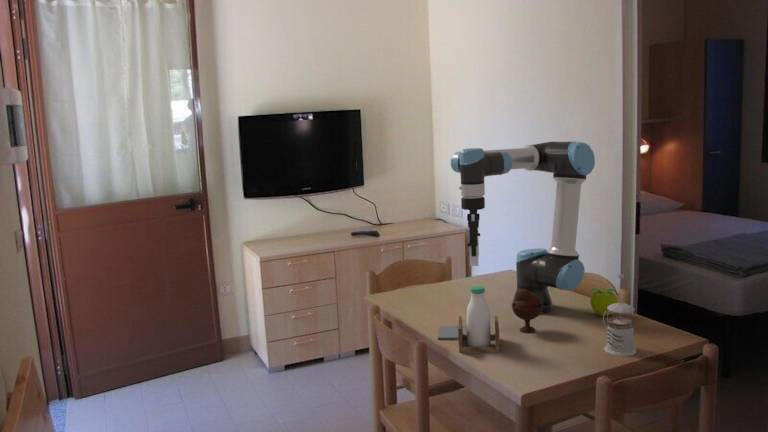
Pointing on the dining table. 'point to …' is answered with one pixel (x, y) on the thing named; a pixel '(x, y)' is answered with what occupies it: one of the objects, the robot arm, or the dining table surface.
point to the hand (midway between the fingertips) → (474, 260)
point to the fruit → (602, 301)
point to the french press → (620, 330)
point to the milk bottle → (478, 319)
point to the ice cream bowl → (527, 308)
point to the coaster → (450, 333)
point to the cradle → (479, 349)
